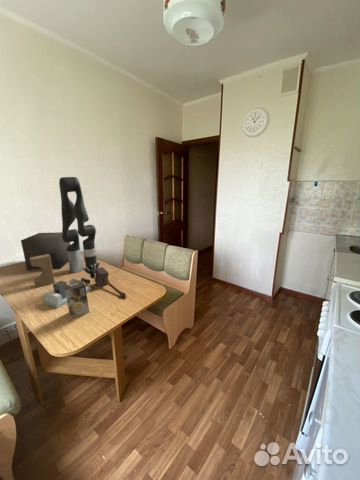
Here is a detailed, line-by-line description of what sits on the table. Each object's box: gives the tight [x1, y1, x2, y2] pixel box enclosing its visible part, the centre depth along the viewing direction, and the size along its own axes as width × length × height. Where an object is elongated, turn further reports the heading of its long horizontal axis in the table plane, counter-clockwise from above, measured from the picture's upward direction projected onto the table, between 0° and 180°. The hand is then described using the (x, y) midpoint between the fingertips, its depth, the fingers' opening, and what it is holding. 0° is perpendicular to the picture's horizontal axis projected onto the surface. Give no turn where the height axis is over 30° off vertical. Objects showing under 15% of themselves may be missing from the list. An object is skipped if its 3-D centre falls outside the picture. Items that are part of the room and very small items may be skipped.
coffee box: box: [64, 280, 90, 319], centre depth 105 cm, size 9×6×16 cm
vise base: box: [42, 285, 91, 309], centre depth 122 cm, size 23×12×6 cm, turn 156°
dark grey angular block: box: [20, 231, 72, 271], centre depth 171 cm, size 25×25×25 cm
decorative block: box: [29, 254, 56, 289], centre depth 136 cm, size 11×6×20 cm, turn 130°
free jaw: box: [69, 277, 91, 287], centre depth 130 cm, size 8×11×5 cm
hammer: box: [93, 266, 127, 299], centre depth 130 cm, size 7×33×10 cm, turn 49°
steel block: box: [52, 280, 68, 299], centre depth 118 cm, size 5×5×9 cm
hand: (92, 278), depth 139 cm, fingers closed
